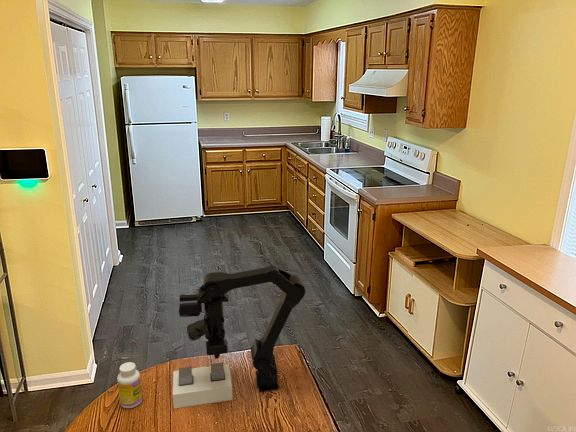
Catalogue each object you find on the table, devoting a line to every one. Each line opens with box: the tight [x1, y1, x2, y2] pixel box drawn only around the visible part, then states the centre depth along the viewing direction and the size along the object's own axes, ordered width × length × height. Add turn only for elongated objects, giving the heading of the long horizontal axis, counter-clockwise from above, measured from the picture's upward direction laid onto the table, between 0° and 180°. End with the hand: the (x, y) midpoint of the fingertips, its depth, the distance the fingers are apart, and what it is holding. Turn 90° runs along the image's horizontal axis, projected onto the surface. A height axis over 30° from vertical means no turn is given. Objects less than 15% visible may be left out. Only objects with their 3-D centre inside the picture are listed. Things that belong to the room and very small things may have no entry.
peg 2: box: [210, 361, 225, 382], centre depth 145 cm, size 4×4×5 cm
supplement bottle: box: [116, 361, 143, 409], centre depth 140 cm, size 7×7×13 cm
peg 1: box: [178, 365, 193, 386], centre depth 143 cm, size 4×4×5 cm
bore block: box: [172, 363, 234, 409], centre depth 145 cm, size 18×12×5 cm, turn 102°
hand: (216, 357), depth 144 cm, fingers closed
